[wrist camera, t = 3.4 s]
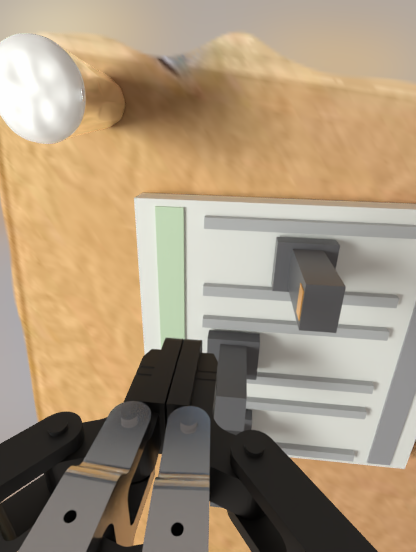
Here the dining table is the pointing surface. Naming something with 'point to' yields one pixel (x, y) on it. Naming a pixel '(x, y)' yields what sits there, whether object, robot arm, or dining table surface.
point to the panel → (290, 318)
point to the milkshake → (53, 91)
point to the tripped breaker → (310, 281)
